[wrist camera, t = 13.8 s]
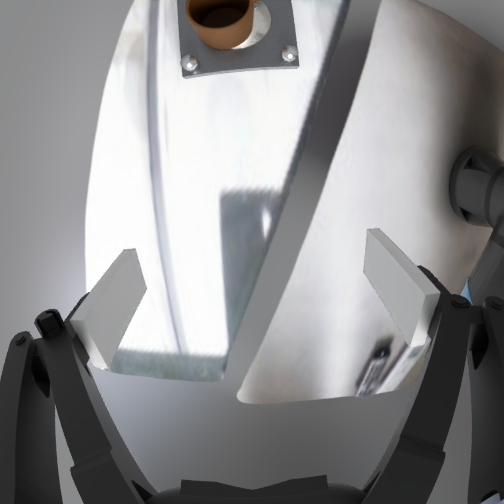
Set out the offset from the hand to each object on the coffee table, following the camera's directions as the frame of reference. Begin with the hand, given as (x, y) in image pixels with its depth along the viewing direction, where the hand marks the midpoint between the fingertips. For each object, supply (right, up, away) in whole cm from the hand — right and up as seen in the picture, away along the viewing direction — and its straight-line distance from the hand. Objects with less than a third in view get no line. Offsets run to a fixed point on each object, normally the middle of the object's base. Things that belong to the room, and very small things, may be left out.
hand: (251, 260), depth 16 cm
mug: (-2, +32, +14) cm, 35 cm away
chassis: (-2, +33, +16) cm, 37 cm away
